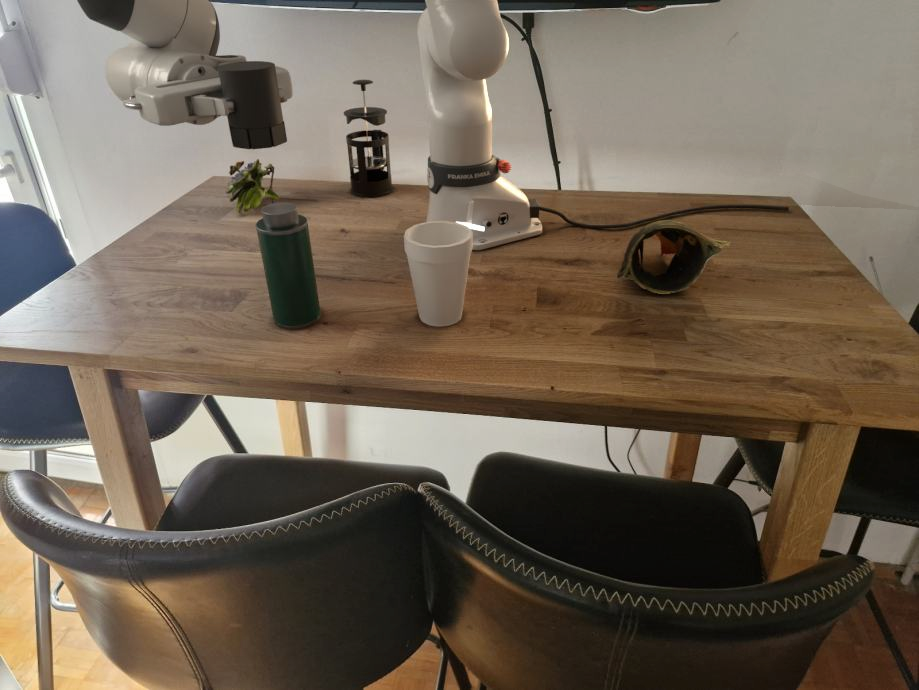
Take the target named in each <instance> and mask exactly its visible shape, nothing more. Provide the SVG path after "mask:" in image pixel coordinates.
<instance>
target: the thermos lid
mask: <svg viewBox="0 0 919 690" xmlns="http://www.w3.org/2000/svg"><path fill="white" fill-rule="evenodd" d="M275 66H276V64H275V63H274V62H272V61H264V60H263V61H262V60H247V61H245V62H234V63H228V64H223V65H220V66H218V72H219V77H220V82H221V88H222V93H223V97H227V98H231V99H232V100H233V101H234V108H235V111H236V112H235V113H234V114H231V115H227V116H226V117H227V122H228V129H229V135H230V139H231V144H232V147H233V148H237V149H243V150H261V149H271V148H275V147H278V146H281V145H283V144H286V143H287V142H288V137H287V130H286V125H285V124H286V123H285V120H284V115H283V110H282V103H281V102H280V95H279V89H278V82H277V76H276V69H275Z"/></svg>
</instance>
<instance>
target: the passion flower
mask: <svg viewBox="0 0 919 690" xmlns="http://www.w3.org/2000/svg"><path fill="white" fill-rule="evenodd" d="M244 164H245V161H244V160H242V161H236V162H235V165H234V164H233V165H230V166H229V171H228V174H229V175H230V176H231V180H229V181H228V183H227V187H228V188H227V189H226V190H225V194H227V195H229V194H231V195H230V196H229V202H230V203H233V202H234V201H235V200H237V201H236V209H237V213H239V214H240V216H243V213H245V214H246V213H248V212H249V211H250V210H255V209H257V208H258V207H259V206H260V205H262V204H263V203H262V202H263V201H264V200H266V199H267V197H268V198H270V199H271V204H273V203H275V200H278V201H280V200H281V198H280V196H279V195H278V194H277V193H276V192H275V191H273V182H274V174H275V166H273V164H272V163H268V164H267V165H266V166H264V170H263V168H262V165H263V164H262V163H261V162H260V159H259V158H257V159H255V160H254V162H249V163H247V166H244ZM243 166H244V168H243V169H241V168H242V167H243ZM270 174H271V177H270V185H269V187H263V185H262V182H263V179H264V177H265V176H270ZM233 175H234V176H233Z"/></svg>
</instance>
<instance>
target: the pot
mask: <svg viewBox="0 0 919 690" xmlns="http://www.w3.org/2000/svg"><path fill="white" fill-rule="evenodd" d="M654 236H656V237H657V238H658V240H659V242H660V257H663V255H673V257H672V258H671V261H670V263H669V265H668V267H667V269H666V271H664V272H661V273H658V274H654V273H652V272H651V271H649V270H647V269H646V268H644V267H643V261H644V245H645V244H644V243H645V240H647V239H650V238H652V237H654ZM733 244H734V242H733V241H730V240H717V239H713V238H711V237H709V236H706V235H704V234H702V233H700V232H698V231H697V230H695V229H694V228H693V227H691V226H690V225H688V224H686V223H684V222H681V221H679V222H678V221H674V220H672V219H662V220H658V221H653V222H651V223H648V224H646V225H644V226H642V227H641V228H640V229H639V230H638V231H637V232H635V233H634V235H633V236H632V237H631V239H630V240H629V242H628V244H627V248H626V249H625V253H624V255H623V256H624V257H623V260H622V263H621V266H620V269H619V271H618V272H617V275H616V279H622V278H624V279H626V280H629V281H630V280H632V281H634V283H636V284H638V285H639V286H640V288H642V289H643V290H647V291H649V292H651V293H655V294H656V293H657V294H658V295H659V294H661V295H662V294H663V295H664V294H665V295H667V294H668V295H669V294H671V293H674V294H675V293H679V292H681V291H685V290H686V289H689V288H690V286H691V285H693V284H694V283H695V282H696V281H697V279H698V278H700V276H702V273H703V271H704V269H706V264H707V262H708V261H709V260H710V259H711V258H712V257H715V256H716V255H719V254H721V253H722V252H723V250H722V248H723V247H729V246H732V245H733Z"/></svg>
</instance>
